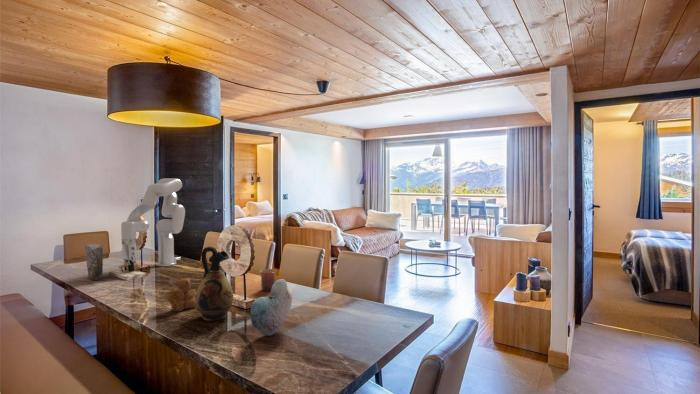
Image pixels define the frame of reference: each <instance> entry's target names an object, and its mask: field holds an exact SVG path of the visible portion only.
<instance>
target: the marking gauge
mask: <svg viewBox="0 0 700 394" xmlns="http://www.w3.org/2000/svg"><path fill="white" fill-rule="evenodd" d="M130 260H132V259H130ZM130 262H131V261H130ZM124 263H125V265H124ZM128 265H129V262H128V261H126V262H124V261H123V264H122V265H120V266H118V268H119V269H120V270H122V272H123V269H124V267H125V266H126V270H127V271H128ZM137 269H139V267H138V263H137V260H136V261H135V262H134V270H136V271H137ZM128 272H129V271H128ZM130 272H131V271H130Z"/></svg>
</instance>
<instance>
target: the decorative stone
mask: <svg viewBox="0 0 700 394" xmlns="http://www.w3.org/2000/svg"><path fill="white" fill-rule="evenodd" d="M292 302H293V296H292V292H290V291H289V289H288V284H287V281H286V280H285V279H284V278H279V279H277V280H275V283H274V284H273V286H272V289H271V291H270V292H269V295H268V296H260V297H258V298H257V299H256V300H254V301H253V302H251V303H252V304H251V305H250V322H251V325H252V326H253V327H254V328H255V329H256V330H258V331H260V332H261V333H262V334H263V335H265V336H269V337H270V336H273V335H274V334H275V333H277V331H278V330H279V328H280V327H281V326H282V324H284V322H285V320H286V319H287V317H288V315H289V313H290V312H291V308H292Z"/></svg>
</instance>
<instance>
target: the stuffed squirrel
mask: <svg viewBox="0 0 700 394" xmlns="http://www.w3.org/2000/svg"><path fill="white" fill-rule="evenodd" d="M175 283H176V284H177V285H178V288H174V289H173V290H169V291H168V292H167V293H166V294H165V297H166V298H165V299H166V300H167V302H169V303H170V305H171V310H172V311H174V312H182V311H183V310H189V309H194V308H196V305H195V298H194V295H196V289H195V288H192V289H191V286H192V287H193V286H194V283H193V282H192V281H191V280H190V279H189V278H186V277H185V278H181V279H180V280H178V279H177V280H176V281H175Z"/></svg>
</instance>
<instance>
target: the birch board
mask: <svg viewBox="0 0 700 394" xmlns="http://www.w3.org/2000/svg"><path fill="white" fill-rule="evenodd" d="M122 269H123V272H122V270H121V269H116V270H112V271H108V276H111V277H114V278H117V279H121V280H124V281H130V280H135V279H140V278H144V277H147V273H146V272H144V271H140V270H137V269H136V270H134V271H131V272H128V271H127V270H126V271H125V269H124V268H122Z"/></svg>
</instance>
